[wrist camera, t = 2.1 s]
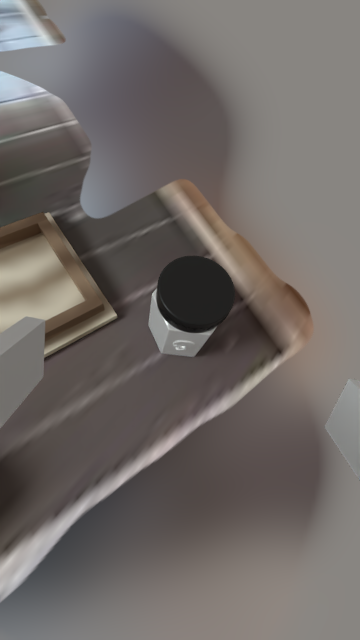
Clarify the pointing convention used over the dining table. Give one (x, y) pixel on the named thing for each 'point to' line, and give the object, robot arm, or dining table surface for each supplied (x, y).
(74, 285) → the jar stand
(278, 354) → the dining table surface
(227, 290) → the jar
